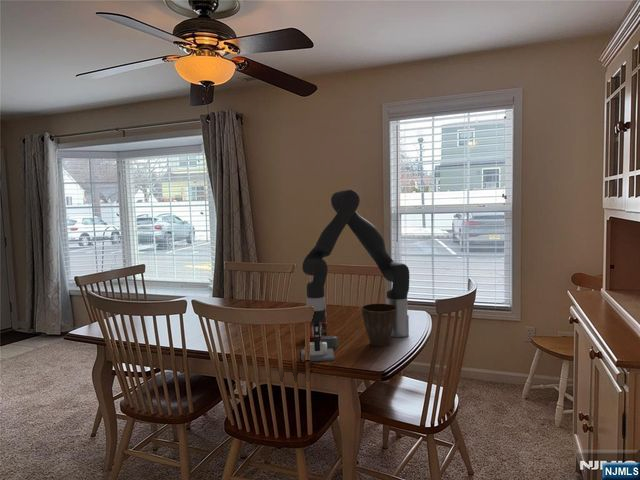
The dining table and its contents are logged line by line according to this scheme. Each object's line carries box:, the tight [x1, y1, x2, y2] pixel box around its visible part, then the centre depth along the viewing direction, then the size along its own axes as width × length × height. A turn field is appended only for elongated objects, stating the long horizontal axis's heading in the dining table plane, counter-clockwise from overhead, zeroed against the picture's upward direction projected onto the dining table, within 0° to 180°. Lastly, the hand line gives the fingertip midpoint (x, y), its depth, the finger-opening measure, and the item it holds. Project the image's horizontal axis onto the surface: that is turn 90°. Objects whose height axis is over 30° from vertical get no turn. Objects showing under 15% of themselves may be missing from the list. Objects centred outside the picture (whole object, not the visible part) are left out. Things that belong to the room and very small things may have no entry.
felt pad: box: [300, 348, 335, 362], centre depth 181 cm, size 13×11×1 cm
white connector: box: [309, 341, 328, 355], centre depth 181 cm, size 9×4×4 cm, turn 91°
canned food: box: [309, 312, 328, 340], centre depth 205 cm, size 8×8×11 cm
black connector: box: [320, 335, 339, 349], centre depth 191 cm, size 9×4×4 cm, turn 91°
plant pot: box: [361, 303, 397, 347], centre depth 193 cm, size 15×15×16 cm
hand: (317, 347), depth 181 cm, fingers open, 8 cm apart
